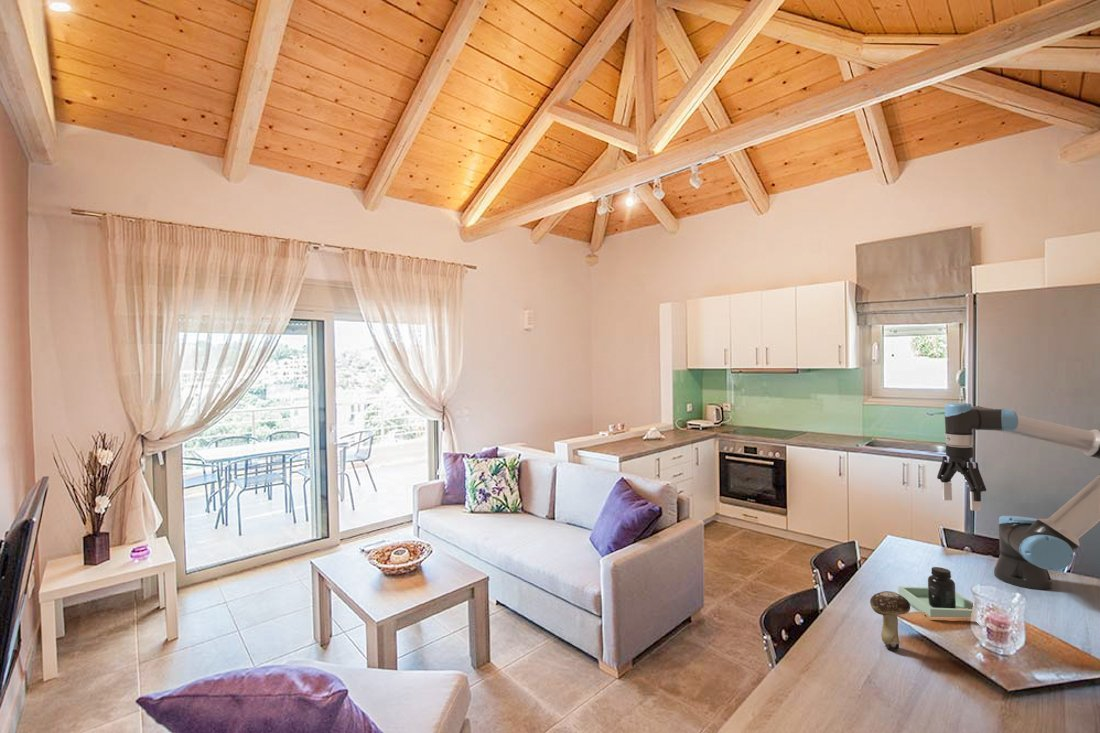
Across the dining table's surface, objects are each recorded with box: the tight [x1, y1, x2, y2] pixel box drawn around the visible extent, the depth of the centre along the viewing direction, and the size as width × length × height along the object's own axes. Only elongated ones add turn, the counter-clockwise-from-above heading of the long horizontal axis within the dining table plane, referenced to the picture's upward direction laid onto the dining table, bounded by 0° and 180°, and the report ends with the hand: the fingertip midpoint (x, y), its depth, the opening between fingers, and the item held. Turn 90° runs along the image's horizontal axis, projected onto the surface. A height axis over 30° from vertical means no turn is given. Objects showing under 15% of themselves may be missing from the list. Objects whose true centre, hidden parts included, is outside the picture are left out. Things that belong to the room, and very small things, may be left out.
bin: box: [897, 585, 974, 617], centre depth 155 cm, size 16×16×4 cm
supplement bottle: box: [927, 566, 956, 609], centre depth 155 cm, size 7×7×12 cm
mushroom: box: [869, 590, 911, 652], centre depth 133 cm, size 9×9×15 cm
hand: (960, 505), depth 172 cm, fingers open, 13 cm apart
